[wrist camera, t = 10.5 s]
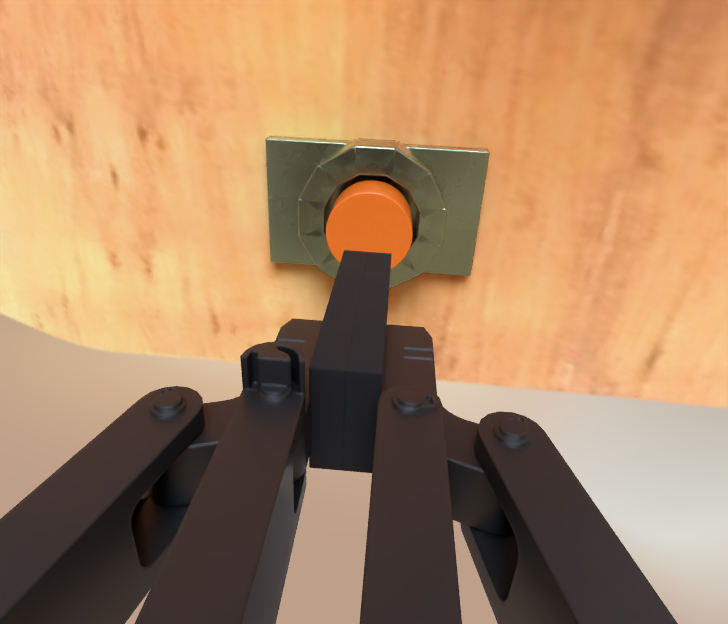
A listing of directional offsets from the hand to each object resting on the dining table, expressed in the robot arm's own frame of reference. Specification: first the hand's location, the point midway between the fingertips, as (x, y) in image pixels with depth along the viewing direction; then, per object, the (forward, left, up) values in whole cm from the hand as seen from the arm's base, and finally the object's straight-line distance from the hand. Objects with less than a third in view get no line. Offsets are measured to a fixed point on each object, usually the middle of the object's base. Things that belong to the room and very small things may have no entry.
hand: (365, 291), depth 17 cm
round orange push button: (0, 0, -7) cm, 7 cm away
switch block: (0, 0, -10) cm, 10 cm away
